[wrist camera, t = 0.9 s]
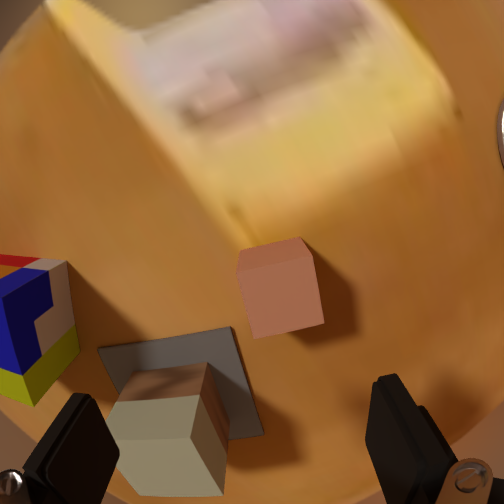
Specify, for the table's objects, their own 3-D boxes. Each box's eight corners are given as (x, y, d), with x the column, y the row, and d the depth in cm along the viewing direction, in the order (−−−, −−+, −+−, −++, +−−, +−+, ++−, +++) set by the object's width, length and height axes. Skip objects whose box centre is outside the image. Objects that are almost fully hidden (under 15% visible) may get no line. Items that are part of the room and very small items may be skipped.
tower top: (199, 394, 24) (189, 437, 19) (227, 455, 26) (223, 495, 21) (116, 401, 24) (96, 439, 20) (151, 458, 26) (139, 495, 21)
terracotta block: (299, 236, 26) (312, 255, 21) (310, 292, 28) (324, 323, 22) (239, 250, 27) (236, 272, 21) (253, 305, 28) (254, 339, 22)
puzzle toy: (67, 260, 27) (1, 297, 17) (80, 351, 30) (33, 407, 20) (-1, 254, 27) (-64, 282, 17) (14, 335, 29) (-36, 377, 20)
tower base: (207, 361, 29) (199, 394, 24) (230, 421, 31) (227, 455, 26) (132, 371, 29) (115, 401, 24) (161, 427, 31) (151, 458, 26)
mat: (230, 326, 28) (230, 328, 28) (264, 432, 32) (264, 435, 31) (98, 347, 29) (96, 349, 29) (149, 443, 32) (148, 445, 32)
